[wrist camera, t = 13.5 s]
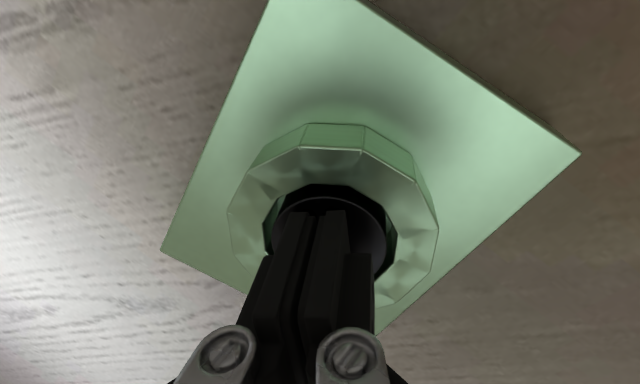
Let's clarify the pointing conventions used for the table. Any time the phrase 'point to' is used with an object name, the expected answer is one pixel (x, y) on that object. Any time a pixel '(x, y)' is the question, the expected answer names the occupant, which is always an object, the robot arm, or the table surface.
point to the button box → (361, 148)
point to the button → (360, 213)
